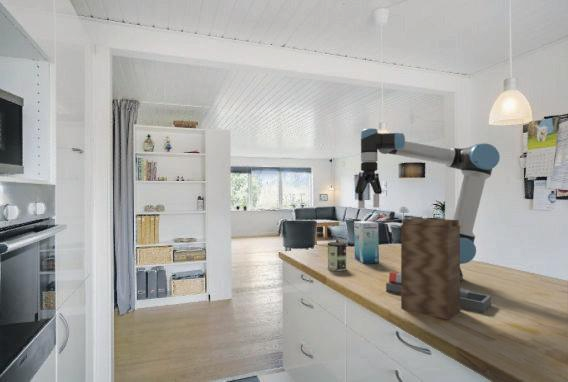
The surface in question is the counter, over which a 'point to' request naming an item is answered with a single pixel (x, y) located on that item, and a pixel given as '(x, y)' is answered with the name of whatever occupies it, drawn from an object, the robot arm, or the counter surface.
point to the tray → (474, 303)
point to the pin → (396, 278)
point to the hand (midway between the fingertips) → (369, 207)
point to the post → (430, 266)
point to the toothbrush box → (366, 241)
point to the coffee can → (337, 256)
